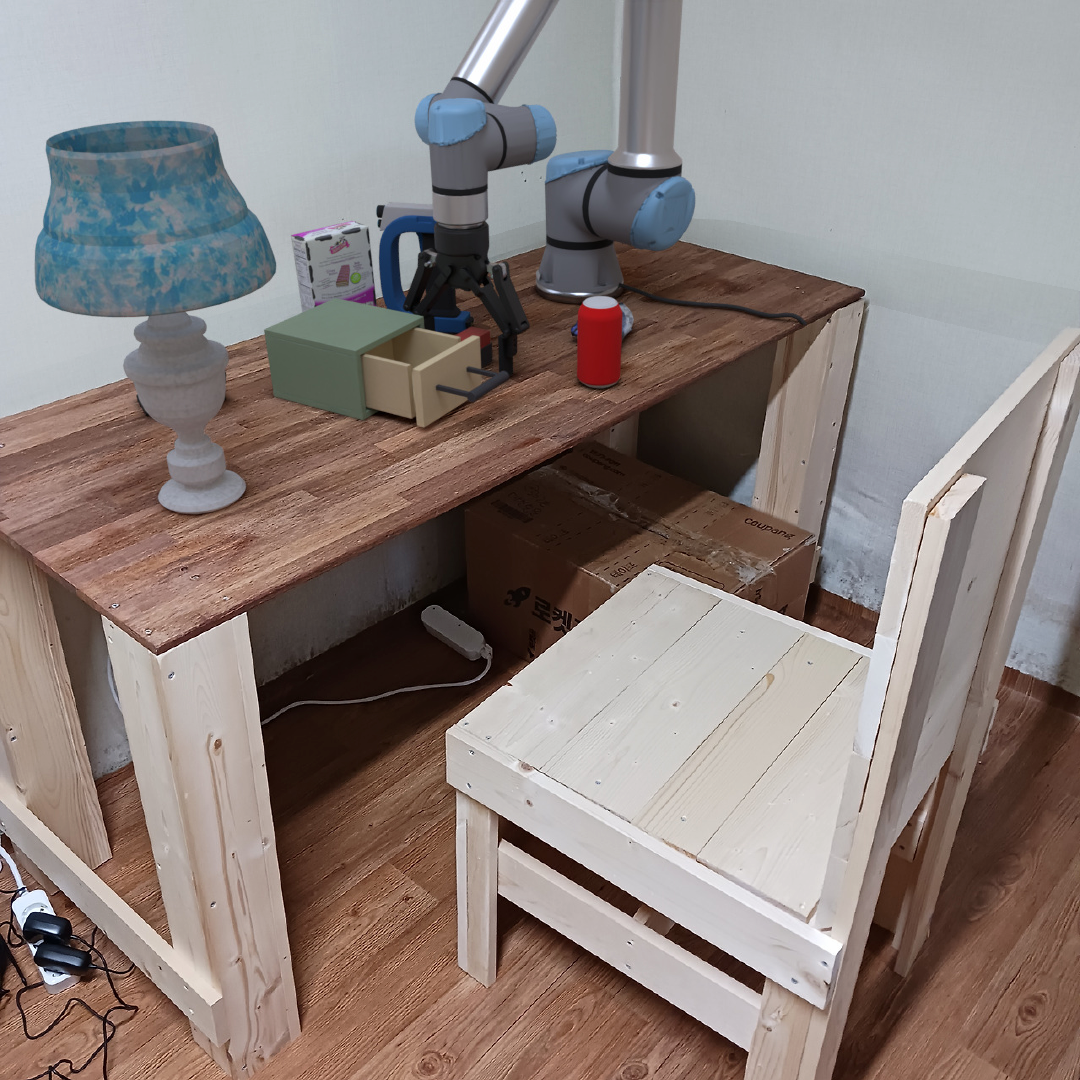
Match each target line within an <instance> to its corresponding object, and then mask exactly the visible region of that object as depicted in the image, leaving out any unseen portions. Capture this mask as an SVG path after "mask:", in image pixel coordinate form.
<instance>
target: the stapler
mask: <svg viewBox="0 0 1080 1080" xmlns="http://www.w3.org/2000/svg"><path fill="white" fill-rule="evenodd" d="M472 335H474V336H479V337H480V353H481V369H484V368H485V367H486V366H487V365H489V364H491V363H493V360H494V358H493V356H494V355H493V342H492V341H491V330H489V329H485V328H481V327H475V326H471V327H469V328H468V329H466V330H464V331H462V332H460V333H456V334H455V335H454V336H459V337H461V342H462V341H463V340H465V339H467V338H469V337H470V336H472Z"/></svg>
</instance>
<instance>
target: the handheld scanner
mask: <svg viewBox="0 0 1080 1080" xmlns="http://www.w3.org/2000/svg"><path fill="white" fill-rule="evenodd" d="M375 213H376V214H375V215H376V217H377V218H378V219H377V223H376V224H377V228H379V232H382V231H383V232H382V234H381V237H380V241H379V245H378V248H379V249H378V250H379V251H378V267H379V268H378V269H379V270H378V271H379V281H380V290H381V295H382V299H383V303H384V305H385V308H386V309H390V310H395V311H400V312H405V313H409V314H413V313H411V312H410V311H405V310H404V309H403V304H404V302H405V299H406V295H405V293H404V290H403V286H402V277H401V264H400V238H401V235H402V234H406V233H415V235H416V236H417V239H418V245H419V253H420V252H422V251H424V250H427V249H429V248H432V249H433V250H434V252H435V253H437V251H436V249H435V238H434V225H435V224H436V223H437V222H436V221H435V220H434V219H433V203H415V202H413V203H412V202H397V201H396V202H395V201H394V202H393V201H389V202H388V203H387V204H378V205H377V206H376V209H375ZM440 274H441V272H440V270H439V269H438V267H437V265H435V266H434V268H433V271H432V273H431V276H430V278H429V281H428V284H427V286H426V289H425V295H426V294H427V293H428V291H429V290H430V289H431V287H432V286H433V285H434V282H435V280H436V279H437V278H438V276H439V275H440ZM456 290H457V289H452V288H451V286H449V287H448V288H447V289H446V291H445V292H444V293H443V295H442V296H441V297H440V298H439V300H438V301H437V302H436V304H435V305H434V306H433V308H432V309H431V310H432V311H431V310H430V311H431V312H429V313H428V315H429V314H433V315H434V319H435V332H440V333H445V334H459V333H460V332H462V331H464V330H466V329H468V328H469V327H473V324H474V323H475V318H474V316H472V314H471V311H470V310H469V311H468V310H461V308H459V306H458V305H457V293H456V292H457V291H456Z"/></svg>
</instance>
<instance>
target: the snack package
mask: <svg viewBox="0 0 1080 1080" xmlns="http://www.w3.org/2000/svg"><path fill="white" fill-rule="evenodd" d="M601 296H603V295H601ZM618 304H619V305H620V307H621V310H622V340H624V338H625V337H626V336H627V335H628V334H629V333H630V332H631V331H632V330H633V328H632V326H633V324H634V320H635V319H634V316H633V313H632V310H630V308H629V307H628V306H626V304H625V303H624V302H622V301H621V302H618ZM570 334H571V337H576V338H577V336H578V319H577V320H576V322H575V323H574V324H573V325H572V326H571V327H570ZM572 342H575V340H572ZM622 344H623V342H622V343H621V345H622Z"/></svg>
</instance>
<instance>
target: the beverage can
mask: <svg viewBox="0 0 1080 1080" xmlns="http://www.w3.org/2000/svg"><path fill="white" fill-rule="evenodd" d="M577 320H578V336H576V338H577V345H576V377H577V379H578V381H579V382H580V383H581V384H583V385H585V386H586V387H589V388H592V389H607V388H610V387H611V386H613V385H615V384H618V382H619V380H620V379H621V371H622V370H621V369H622V368H621V367H622V344H623V339H622V310H621V307H620V305H619V302H618V301H617V300H616V299H615V298H611V297H606V296H595V297H590V298H587V299H586V300H584V301H583V303H582V304H580V306H579V307H578V310H577ZM621 343H622V344H621Z"/></svg>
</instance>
